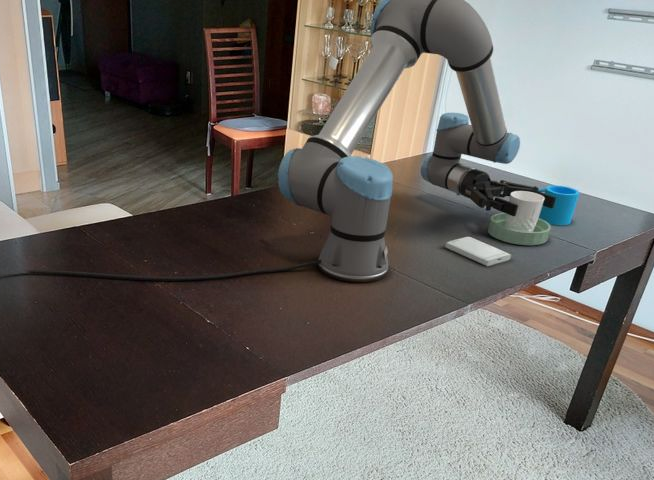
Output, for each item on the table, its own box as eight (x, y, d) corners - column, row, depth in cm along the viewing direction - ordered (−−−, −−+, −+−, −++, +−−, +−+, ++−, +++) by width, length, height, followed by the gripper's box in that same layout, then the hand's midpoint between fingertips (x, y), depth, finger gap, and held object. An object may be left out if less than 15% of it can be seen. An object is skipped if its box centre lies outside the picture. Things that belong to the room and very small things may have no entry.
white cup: (495, 234, 170) (505, 195, 165) (508, 226, 175) (518, 188, 170) (526, 242, 166) (537, 203, 161) (538, 234, 171) (549, 196, 166)
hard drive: (446, 241, 161) (488, 260, 152) (469, 235, 165) (511, 253, 156) (444, 248, 162) (486, 266, 153) (468, 242, 166) (510, 260, 157)
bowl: (498, 245, 165) (501, 231, 163) (480, 224, 177) (483, 211, 175) (556, 247, 165) (560, 233, 163) (534, 226, 177) (538, 213, 175)
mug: (575, 220, 182) (584, 190, 178) (563, 227, 177) (572, 197, 173) (531, 209, 189) (538, 180, 185) (519, 215, 184) (526, 186, 179)
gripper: (498, 190, 187) (564, 214, 172) (432, 202, 177) (495, 229, 161) (505, 163, 184) (573, 185, 168) (437, 174, 173) (503, 198, 157)
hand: (535, 206), depth 164 cm, fingers open, 13 cm apart
